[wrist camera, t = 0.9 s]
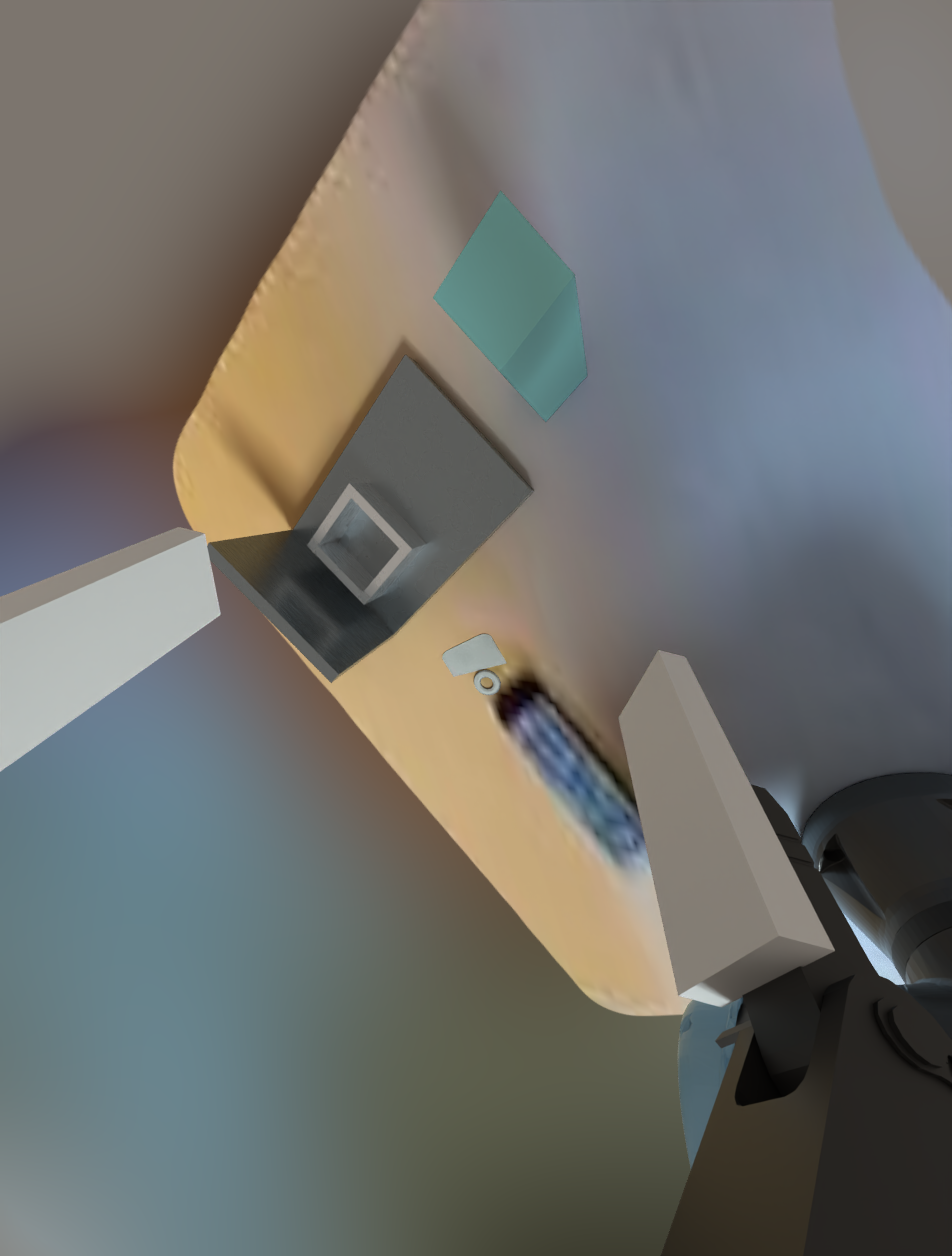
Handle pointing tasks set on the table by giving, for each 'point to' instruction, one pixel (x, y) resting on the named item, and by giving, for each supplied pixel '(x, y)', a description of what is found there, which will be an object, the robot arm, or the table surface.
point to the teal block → (518, 307)
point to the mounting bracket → (476, 661)
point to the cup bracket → (379, 527)
